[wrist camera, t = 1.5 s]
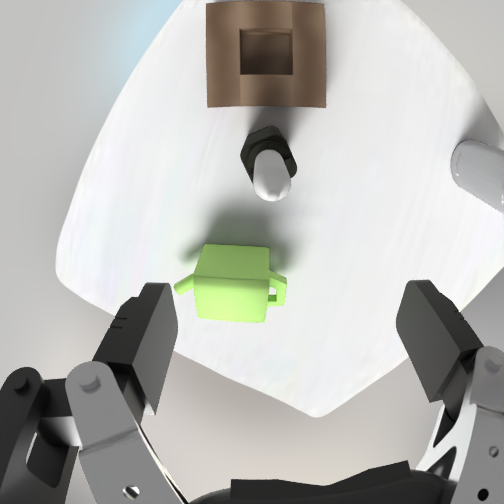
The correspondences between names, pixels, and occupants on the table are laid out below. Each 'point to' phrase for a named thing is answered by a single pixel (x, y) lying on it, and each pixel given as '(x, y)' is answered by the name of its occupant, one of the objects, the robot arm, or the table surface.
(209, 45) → the holder
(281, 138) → the candle
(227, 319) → the green square pitcher
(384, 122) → the table surface
